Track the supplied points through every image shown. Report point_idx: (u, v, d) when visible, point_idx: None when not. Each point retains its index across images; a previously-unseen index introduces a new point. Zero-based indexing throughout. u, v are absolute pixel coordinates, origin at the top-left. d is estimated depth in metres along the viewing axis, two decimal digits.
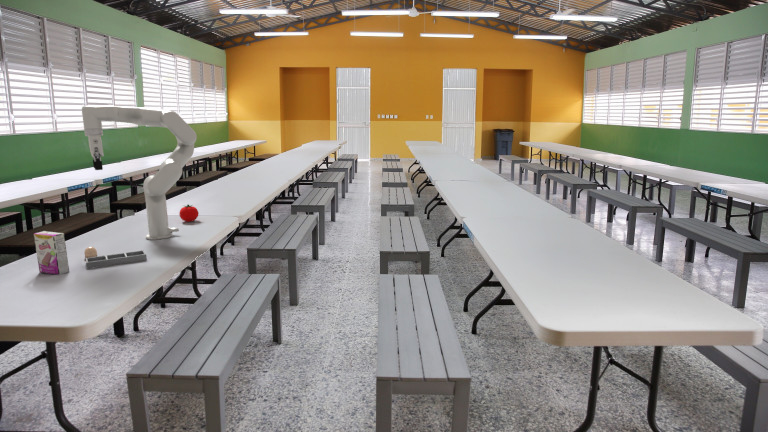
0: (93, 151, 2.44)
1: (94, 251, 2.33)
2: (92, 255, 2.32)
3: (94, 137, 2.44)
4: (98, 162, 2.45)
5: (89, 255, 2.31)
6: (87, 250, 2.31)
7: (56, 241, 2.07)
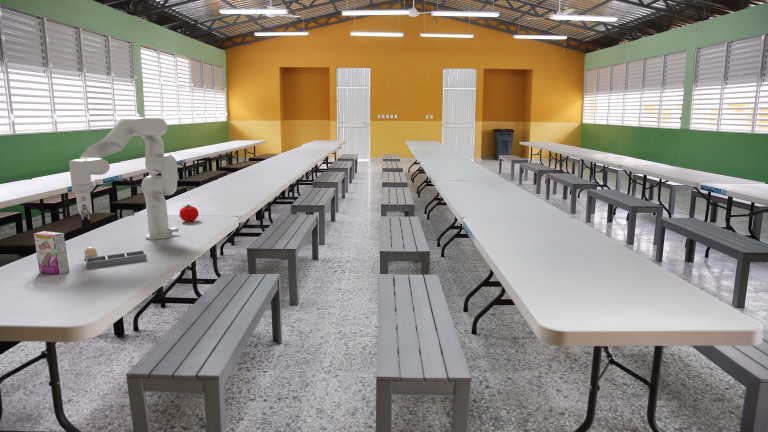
0: (81, 209, 2.24)
1: (94, 251, 2.33)
2: (92, 255, 2.32)
3: (82, 194, 2.24)
4: (86, 220, 2.25)
5: (89, 255, 2.31)
6: (87, 250, 2.31)
7: (56, 241, 2.07)
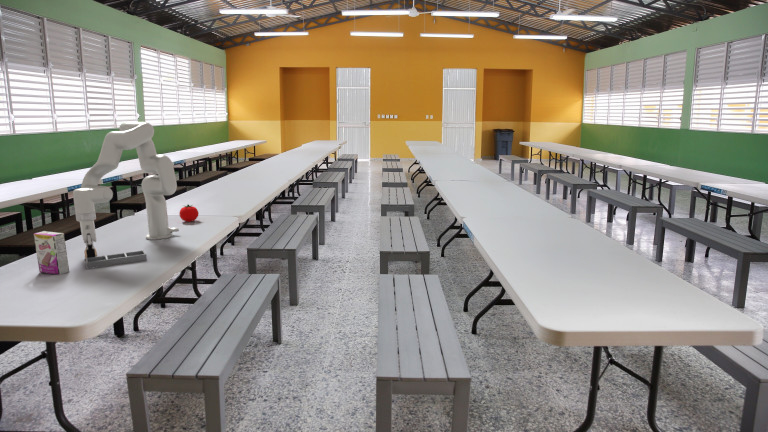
0: (85, 238, 2.27)
1: None
2: None
3: (86, 223, 2.27)
4: (91, 250, 2.30)
5: None
6: None
7: (56, 241, 2.07)
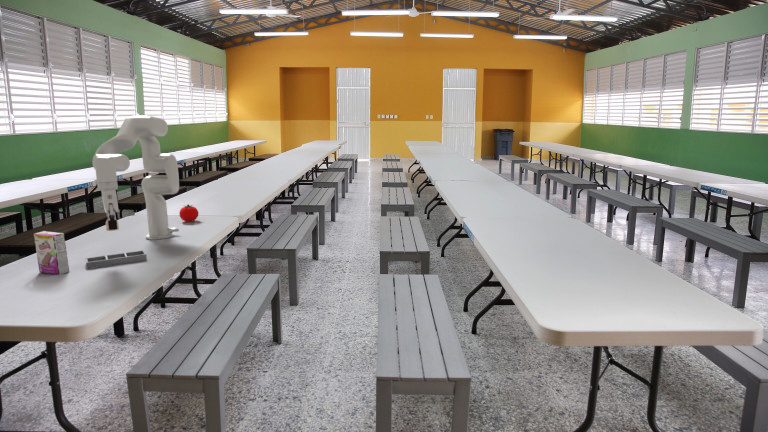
0: (107, 207, 2.17)
1: None
2: None
3: (108, 192, 2.17)
4: (113, 221, 2.20)
5: None
6: None
7: (56, 241, 2.07)
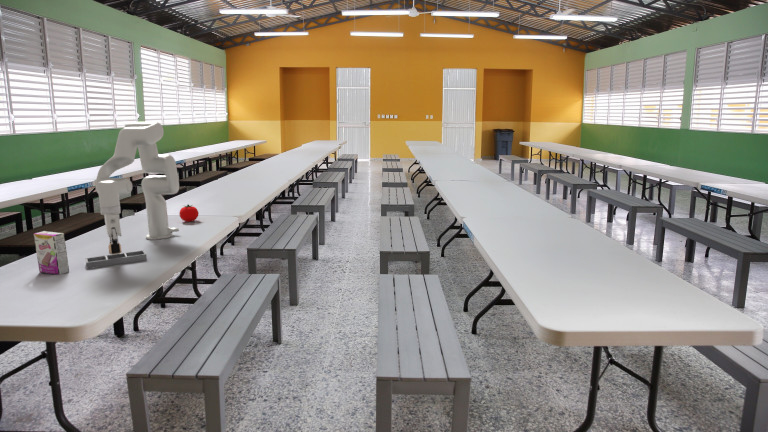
0: (110, 232, 2.19)
1: None
2: None
3: (111, 216, 2.19)
4: (115, 245, 2.22)
5: None
6: None
7: (56, 241, 2.07)
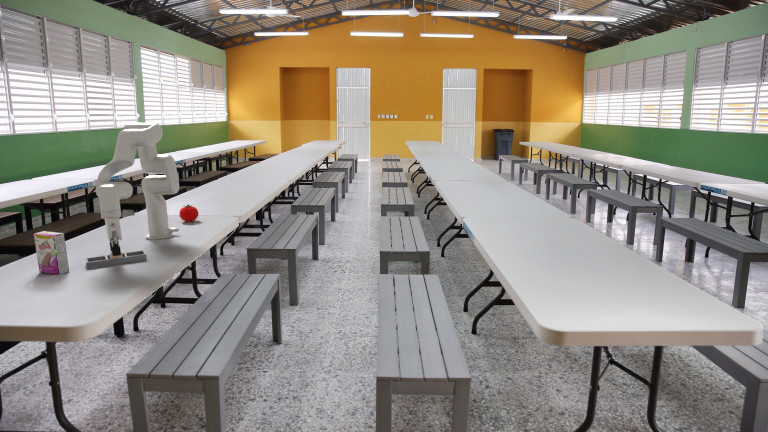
0: (111, 235, 2.19)
1: None
2: None
3: (112, 220, 2.19)
4: (116, 247, 2.21)
5: None
6: None
7: (56, 241, 2.07)
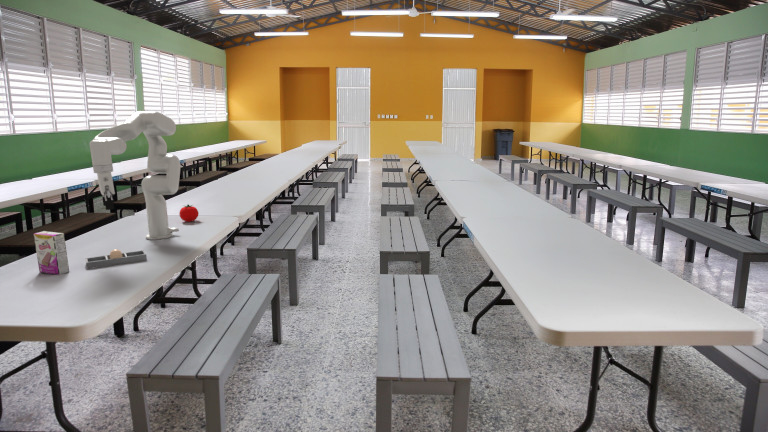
0: (103, 190, 2.24)
1: (120, 254, 2.25)
2: None
3: (104, 174, 2.23)
4: (109, 201, 2.25)
5: None
6: (112, 253, 2.24)
7: (56, 241, 2.07)
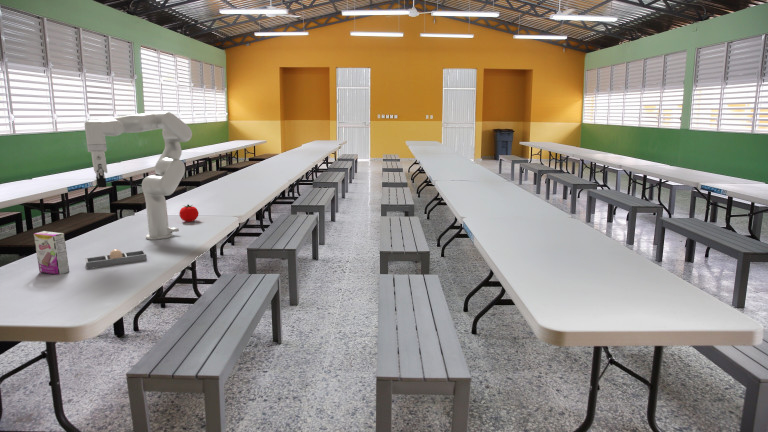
0: (96, 168, 2.34)
1: (120, 254, 2.25)
2: None
3: (97, 153, 2.33)
4: (102, 179, 2.35)
5: None
6: (112, 253, 2.24)
7: (56, 241, 2.07)
